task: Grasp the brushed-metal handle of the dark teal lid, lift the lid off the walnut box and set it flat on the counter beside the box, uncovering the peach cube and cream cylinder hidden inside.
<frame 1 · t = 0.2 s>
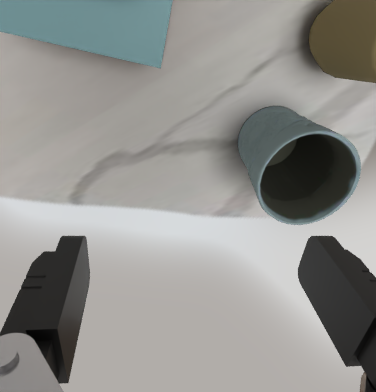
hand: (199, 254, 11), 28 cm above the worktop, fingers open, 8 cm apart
grey-blue cup: (267, 138, 40), on the worktop
squeeze bottle: (332, 33, 35), on the worktop
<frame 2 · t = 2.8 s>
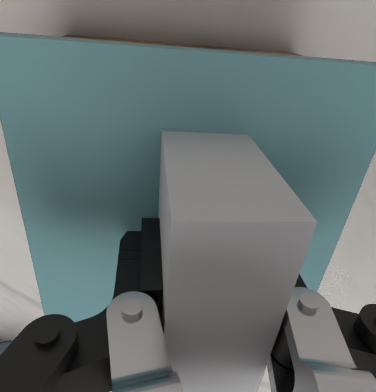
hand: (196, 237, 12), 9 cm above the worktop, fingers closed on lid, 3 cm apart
lid: (189, 203, 14), point 6 cm above the worktop, touching gripper, walnut box
walnut box: (178, 150, 19), on the worktop
when the fingers open (4 cm above the worktop, at t = 9.9 s): lid drops 2 cm, on the worktop.
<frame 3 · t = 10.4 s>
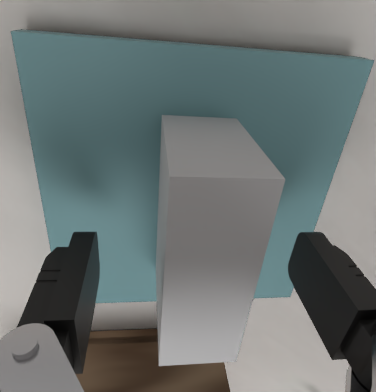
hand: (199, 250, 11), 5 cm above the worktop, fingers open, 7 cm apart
lid: (186, 183, 16), on the worktop
walnut box: (129, 380, 24), on the worktop
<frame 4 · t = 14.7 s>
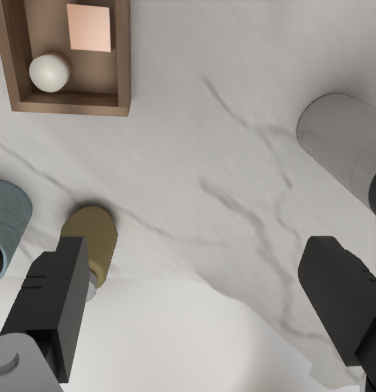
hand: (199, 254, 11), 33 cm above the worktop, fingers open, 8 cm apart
cream cylinder: (56, 68, 37), point 1 cm above the worktop, touching walnut box
peach cube: (95, 26, 35), point 1 cm above the worktop, touching walnut box
grey-blue cup: (1, 202, 46), on the worktop
walnut box: (78, 45, 37), on the worktop
squeeze bottle: (93, 219, 49), on the worktop
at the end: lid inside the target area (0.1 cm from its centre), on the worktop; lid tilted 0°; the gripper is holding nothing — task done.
